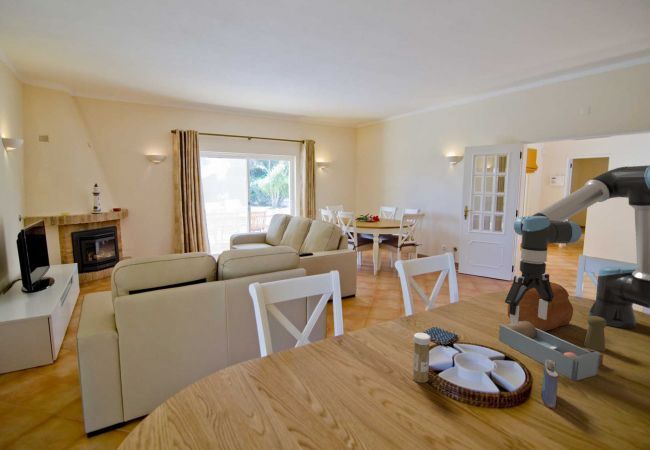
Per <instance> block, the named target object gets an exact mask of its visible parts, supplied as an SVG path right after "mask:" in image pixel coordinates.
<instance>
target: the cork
mask: <svg viewBox="0 0 650 450" xmlns="http://www.w3.org/2000/svg"><path fill="white" fill-rule="evenodd" d="M587 324H588V328H587V331H586V335H585V338H584V341H583V346H584V347H585V348H587V349H588V350H591V349H592V350H595V351H597V352H605V351H606V338H605V328H606V327H607V326H608V325H607V322H606V320H605V319H604V318H601V317H598V316H590V317H589V316H588V317H587Z"/></svg>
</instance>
